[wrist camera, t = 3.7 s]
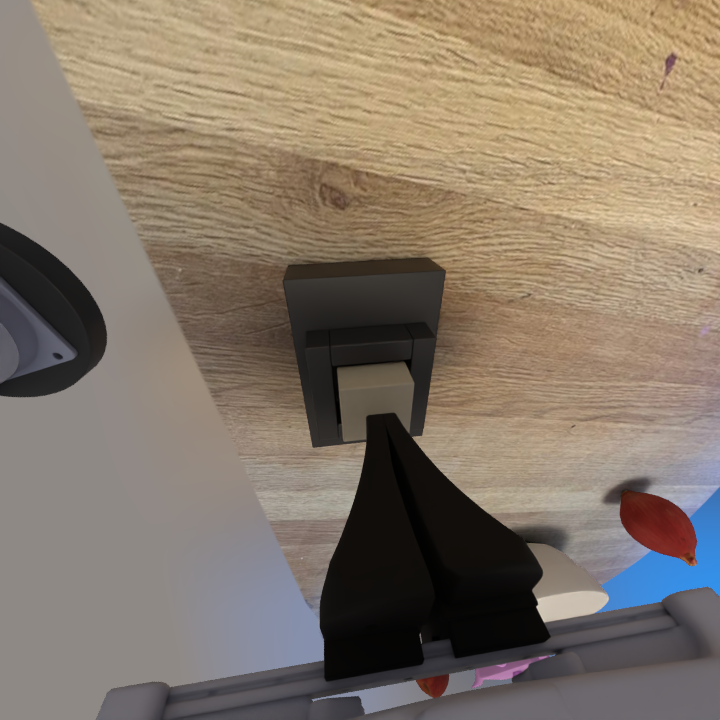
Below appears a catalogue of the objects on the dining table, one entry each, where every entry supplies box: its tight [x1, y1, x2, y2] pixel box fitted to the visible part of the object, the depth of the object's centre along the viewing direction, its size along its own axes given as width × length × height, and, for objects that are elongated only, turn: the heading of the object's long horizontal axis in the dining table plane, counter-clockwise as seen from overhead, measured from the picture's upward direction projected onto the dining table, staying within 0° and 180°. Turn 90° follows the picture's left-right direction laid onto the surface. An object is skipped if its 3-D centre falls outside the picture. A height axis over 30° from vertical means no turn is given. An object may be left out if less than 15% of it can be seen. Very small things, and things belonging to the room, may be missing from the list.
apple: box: [416, 674, 449, 698], centre depth 63 cm, size 7×8×8 cm
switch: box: [337, 361, 414, 442], centre depth 15 cm, size 4×4×2 cm
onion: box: [620, 490, 697, 566], centre depth 31 cm, size 6×6×8 cm
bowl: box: [526, 543, 609, 622], centre depth 39 cm, size 18×18×7 cm
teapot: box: [472, 655, 549, 688], centre depth 51 cm, size 18×14×10 cm
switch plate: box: [283, 258, 446, 448], centre depth 17 cm, size 12×8×4 cm, turn 1°
